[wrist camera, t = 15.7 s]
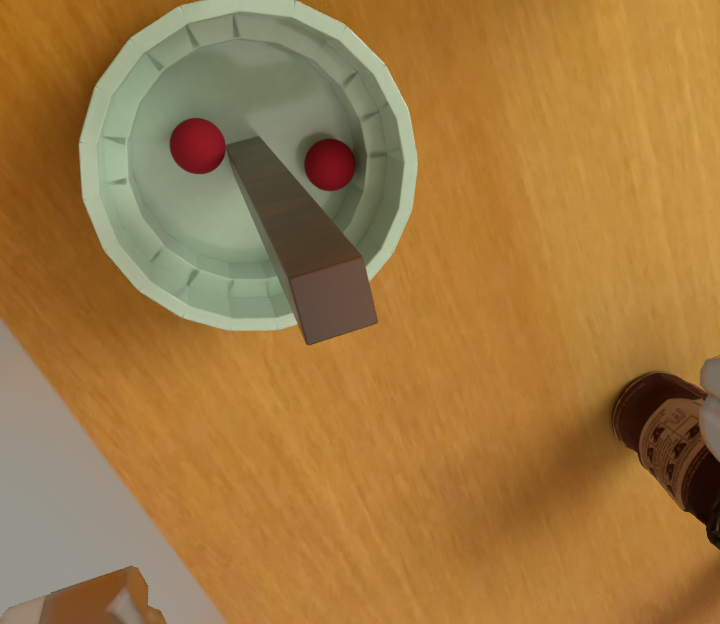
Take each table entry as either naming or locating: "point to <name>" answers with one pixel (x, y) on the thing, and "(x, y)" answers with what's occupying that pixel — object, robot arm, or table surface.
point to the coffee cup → (672, 443)
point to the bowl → (236, 122)
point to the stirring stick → (303, 246)
